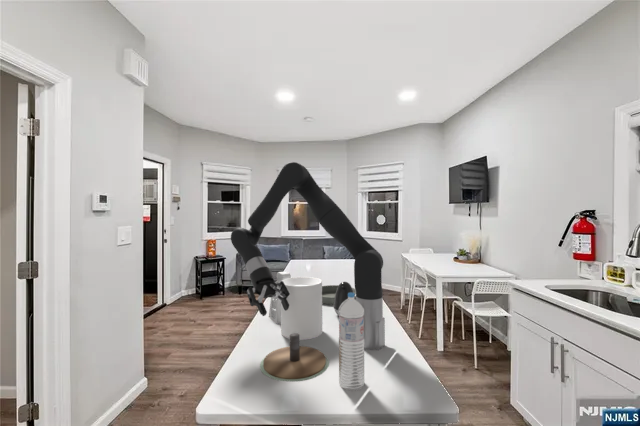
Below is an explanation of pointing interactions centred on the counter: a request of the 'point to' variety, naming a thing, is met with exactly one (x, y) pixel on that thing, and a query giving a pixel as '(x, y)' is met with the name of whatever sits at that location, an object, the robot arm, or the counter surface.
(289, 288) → the canister
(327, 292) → the cake pan
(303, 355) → the lid
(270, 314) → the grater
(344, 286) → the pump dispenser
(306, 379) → the mat
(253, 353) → the counter surface
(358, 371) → the water bottle
